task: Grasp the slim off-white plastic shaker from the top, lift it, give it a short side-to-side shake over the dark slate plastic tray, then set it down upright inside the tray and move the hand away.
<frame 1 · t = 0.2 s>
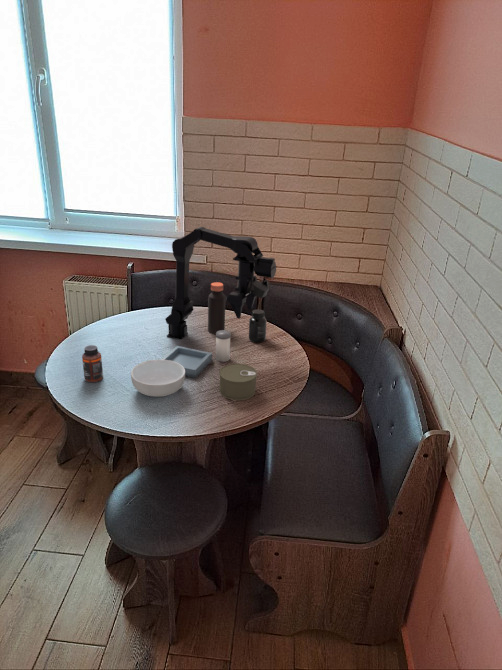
hand: (244, 314, 182), 14 cm above the table, tool pointing down, fingers open, 9 cm apart
supplement bottle 2: (94, 379, 163), on the table
shaker: (222, 358, 181), on the table
vinegar: (216, 331, 203), on the table
tray: (185, 364, 175), on the table
can: (237, 391, 161), on the table
cereal bowl: (159, 391, 159), on the table
supplement bottle: (256, 340, 197), on the table
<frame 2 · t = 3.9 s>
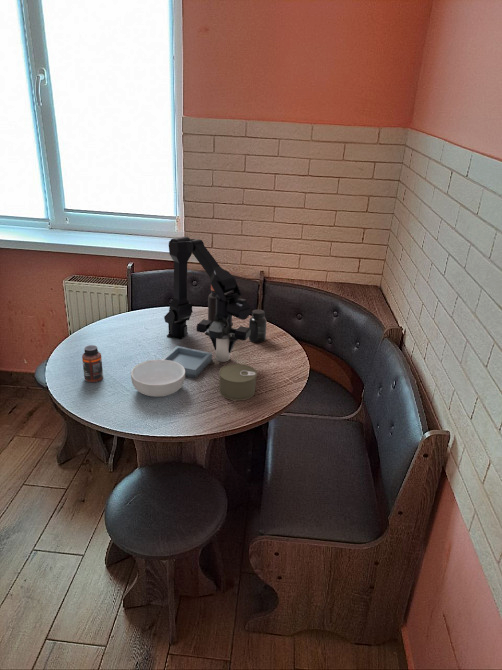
hand: (222, 351, 179), 3 cm above the table, tool pointing down, fingers closed on shaker, 5 cm apart
shaker: (222, 358, 181), on the table, touching gripper
everything else where it was.
when the fingers open (5 cm above the table, at t = 11.4 s): shaker drops 1 cm, resting on tray.
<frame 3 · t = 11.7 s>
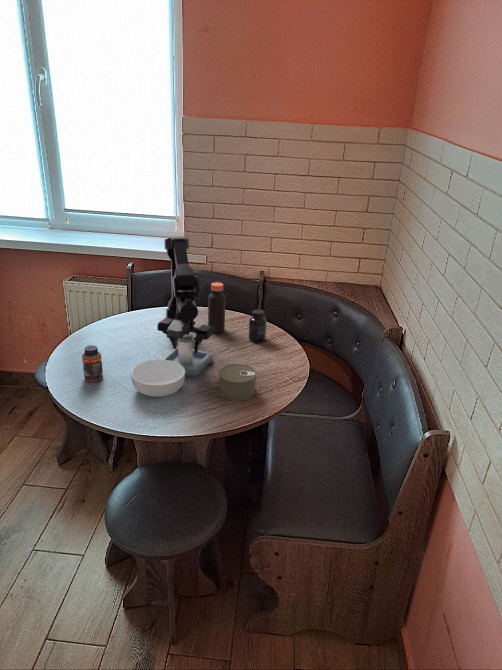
hand: (185, 350, 173), 5 cm above the table, tool pointing down, fingers open, 8 cm apart
shaker: (185, 362, 174), point 1 cm above the table, touching tray
everything else where it was.
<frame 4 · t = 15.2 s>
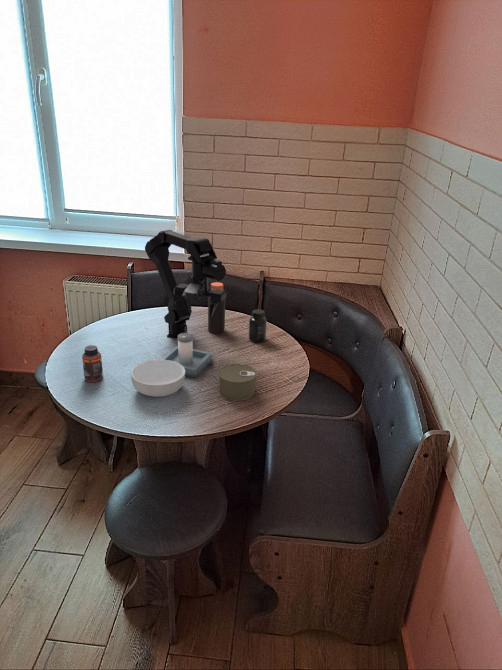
hand: (199, 314, 184), 13 cm above the table, tool pointing down, fingers open, 9 cm apart
nothing on the table moved.
at the end: shaker inside the target area on the tray (0.0 cm from its centre), point 1.0 cm above the tray's base; shaker tilted 0°; the gripper is holding nothing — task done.
